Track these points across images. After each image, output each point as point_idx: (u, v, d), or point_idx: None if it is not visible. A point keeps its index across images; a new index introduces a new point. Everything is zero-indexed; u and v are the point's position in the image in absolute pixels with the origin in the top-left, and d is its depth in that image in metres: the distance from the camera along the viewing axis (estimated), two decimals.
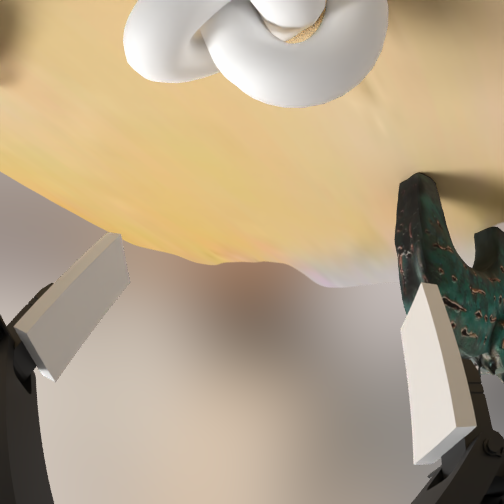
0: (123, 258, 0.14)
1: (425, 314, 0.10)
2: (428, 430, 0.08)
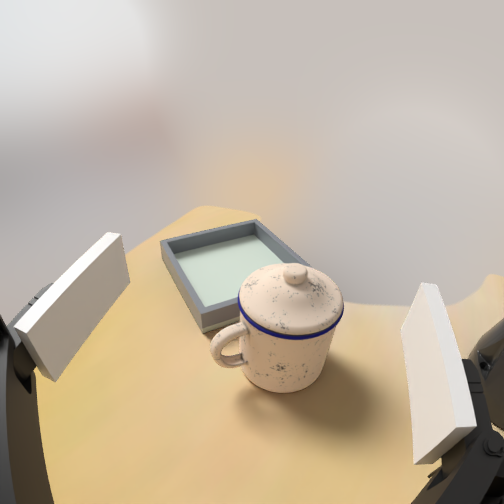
0: (123, 258, 0.14)
1: (425, 314, 0.10)
2: (428, 430, 0.08)
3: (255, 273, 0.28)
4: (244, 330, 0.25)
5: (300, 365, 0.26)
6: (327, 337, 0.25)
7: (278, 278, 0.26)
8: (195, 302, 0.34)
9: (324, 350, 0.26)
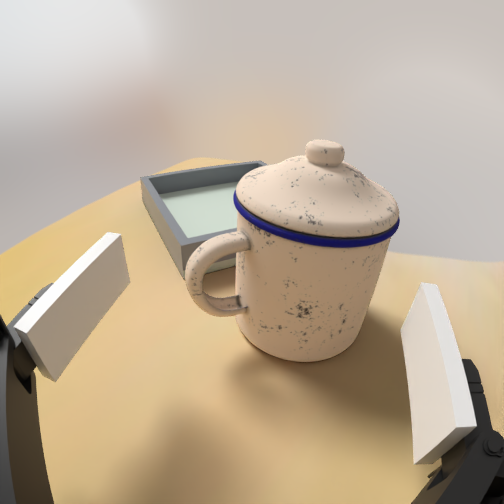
0: (123, 258, 0.14)
1: (425, 314, 0.10)
2: (428, 430, 0.08)
3: (262, 167, 0.18)
4: (243, 241, 0.15)
5: (337, 306, 0.15)
6: (379, 255, 0.15)
7: (298, 160, 0.16)
8: (175, 233, 0.24)
9: (372, 284, 0.16)
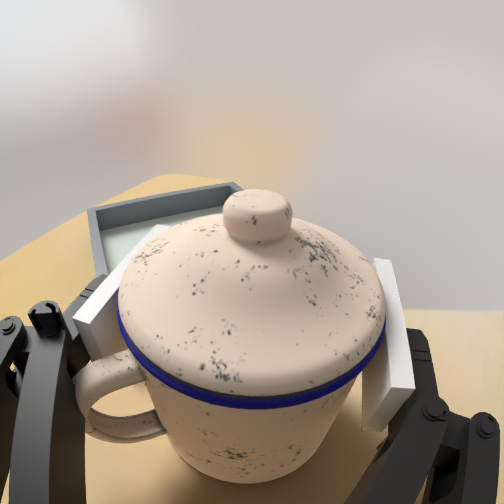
0: None
1: None
2: (372, 394, 0.09)
3: (168, 231, 0.12)
4: (132, 372, 0.09)
5: (284, 447, 0.09)
6: (351, 382, 0.09)
7: (212, 231, 0.10)
8: None
9: (340, 406, 0.10)
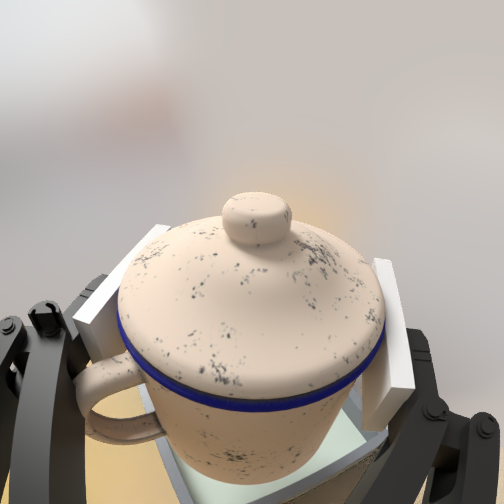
0: None
1: None
2: (372, 394, 0.09)
3: (168, 233, 0.12)
4: (132, 374, 0.09)
5: (284, 450, 0.09)
6: (350, 384, 0.09)
7: (212, 234, 0.10)
8: None
9: (339, 409, 0.10)
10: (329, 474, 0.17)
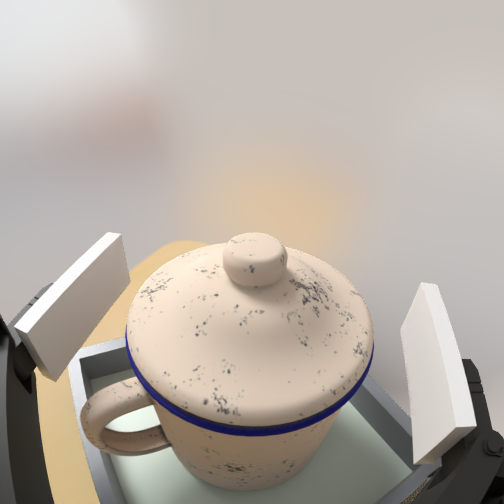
0: (123, 258, 0.14)
1: (425, 314, 0.10)
2: (428, 430, 0.08)
3: (171, 264, 0.13)
4: (141, 398, 0.10)
5: (279, 462, 0.10)
6: None
7: (213, 273, 0.10)
8: None
9: (330, 426, 0.11)
10: None
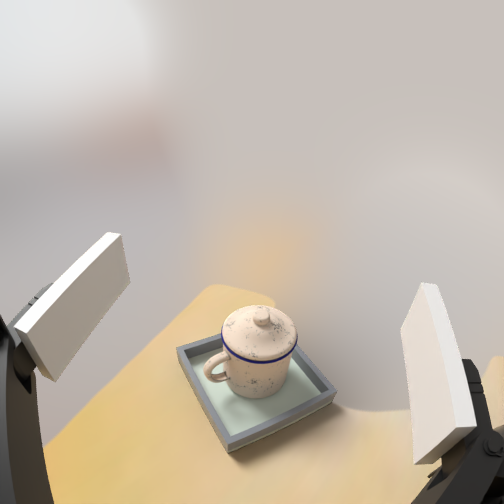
0: (123, 258, 0.14)
1: (425, 314, 0.10)
2: (428, 430, 0.08)
3: (233, 315, 0.39)
4: (227, 357, 0.36)
5: (267, 379, 0.36)
6: (285, 360, 0.36)
7: (249, 320, 0.36)
8: (220, 430, 0.32)
9: (284, 368, 0.37)
10: (300, 410, 0.35)
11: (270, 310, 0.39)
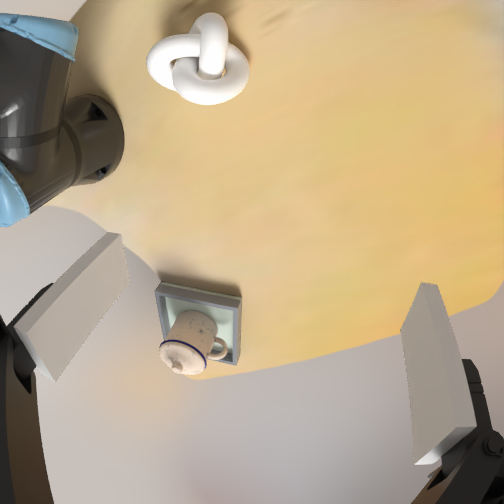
0: (123, 258, 0.14)
1: (425, 314, 0.10)
2: (428, 430, 0.08)
3: (191, 374, 0.56)
4: (208, 355, 0.55)
5: (192, 328, 0.55)
6: (176, 336, 0.54)
7: (184, 369, 0.53)
8: (236, 316, 0.55)
9: (178, 328, 0.56)
10: (183, 297, 0.55)
11: (168, 364, 0.55)
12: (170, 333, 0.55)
